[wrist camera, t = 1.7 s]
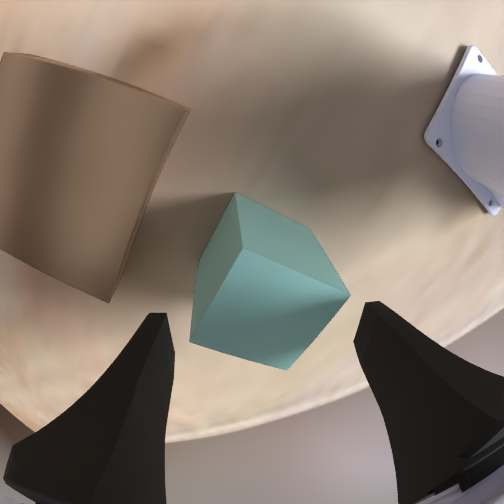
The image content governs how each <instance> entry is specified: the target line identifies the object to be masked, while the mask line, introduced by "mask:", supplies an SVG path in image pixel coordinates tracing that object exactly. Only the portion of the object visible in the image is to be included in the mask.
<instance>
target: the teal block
mask: <svg viewBox="0 0 504 504" xmlns="http://www.w3.org/2000/svg"><path fill="white" fill-rule="evenodd" d="M350 296H351V294H350V293H349V291H348V289H347V287H346V286H345V284H344V282H343V281H342V279H341V277H340V276H339V274H338V272H337V271H336V269H335V268H334V266H333V264H332V263H331V261H330V259H329V258H328V256H327V255H326V253H325V251H324V250H323V248H322V247H321V245H320V243H319V242H318V240H317V239H316V237H315V235H314V234H313V232H312V231H311V229H309V228H307V227H305V226H303V225H301V224H299V223H297V222H295V221H293V220H291V219H289V218H287V217H285V216H283V215H281V214H279V213H277V212H275V211H273V210H271V209H269V208H267V207H265V206H263V205H261V204H259V203H257V202H255V201H253V200H251V199H249V198H247V197H245V196H242V195H240V194H238V193H236V192H235V194H234V195H233V197H232V199H231V201H230V203H229V205H228V207H227V209H226V210H225V212H224V214H223V216H222V218H221V220H220V222H219V224H218V226H217V228H216V229H215V231H214V233H213V235H212V237H211V239H210V241H209V243H208V245H207V247H206V249H205V251H204V253H203V255H202V257H201V259H200V261H199V263H198V267H197V276H196V284H195V292H194V301H193V311H192V320H191V330H190V341H189V342H191V343H194V344H197V345H200V346H203V347H206V348H209V349H212V350H216V351H219V352H222V353H225V354H229V355H232V356H236V357H239V358H242V359H246V360H250V361H253V362H257V363H261V364H264V365H268V366H272V367H276V368H280V369H284V370H288V369H289V368H290V367H291V366H292V364H293V363H294V362H295V361H296V360H297V359H298V358H299V357H300V356H301V354H302V353H303V352H304V351H305V350H306V349H307V348H308V346H309V345H310V344H311V343H312V342H313V341H314V340H315V338H316V337H317V336H318V335H319V334H320V333H321V331H322V330H323V329H324V328H325V327H326V325H327V324H328V323H329V322H330V321H331V319H332V318H333V317H334V316H335V314H336V313H337V312H338V311H339V309H340V308H341V307H342V306H343V304H344V303H345V302H346V301H347V299H348V298H349V297H350Z"/></svg>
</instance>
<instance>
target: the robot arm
mask: <svg viewBox="0 0 504 504" xmlns="http://www.w3.org/2000/svg"><path fill="white" fill-rule="evenodd" d="M477 57H478V58H477ZM424 139H425V142H426V143H427V144H428V145H429V146H430V147H431V148H432V149H433V150H434V151H435V152H436V153H437V154H438V155H439V156H440V157H441V158H442V159H443V160H444V161H445V162H446V163H447V164H448V165H449V166H450V167H451V169H452V170H453V171H454V172H455V173H456V174H457V175H458V176H459V177H460V178H461V180H462V181H463V182H464V183H465V184H466V185H467V186H468V188H469V189H470V190H471V191H472V192H473V193H474V195H475V196H476V197H477V198H478V199H479V201H480V202H481V203H482V204H483V206H484V207H485V208H486V209H487V211H488V212H489V213H490V214H491V215H493V216H495V215H497V213H498V212H499V210H500V208H501V207H503V208H504V76H500V75H497V74H496V72H495V71H494V70H493V68H492V67H491V66H490V64H489V63H488V62H487V60H486V59H485V58H484V56H483V55H482V54H481V52H480V51H479V50H478V49H477V48H476V47H475V46H468V47H467V49H466V51H465V53H464V56H463V58H462V60H461V62H460V64H459V67H458V69H457V71H456V73H455V75H454V77H453V79H452V81H451V83H450V85H449V87H448V89H447V91H446V93H445V95H444V97H443V99H442V101H441V103H440V105H439V107H438V109H437V111H436V113H435V114H434V116H433V118H432V120H431V122H430V124H429V126H428V127H427V129H426V131H425V134H424ZM437 139H438V145H436V141H437ZM353 342H354V345H355V349H356V352H357V356H358V359H359V362H360V365H361V367H362V369H363V372H364V374H365V376H366V378H367V381H368V383H369V385H370V387H371V389H372V392H373V394H374V396H375V398H376V401H377V403H378V405H379V407H380V410H381V413H382V415H383V418H384V422H385V425H386V429H387V432H388V436H389V440H390V445H391V449H392V453H393V459H394V465H395V471H396V479H397V490H398V503H399V504H418V503H419V504H504V377H503V376H500V375H497V374H494V373H492V372H489V371H487V370H484V369H482V368H480V367H478V366H476V365H474V364H471V363H469V362H468V361H465V360H464V359H462V358H460V357H458V356H457V355H455V354H453V353H451V352H450V351H448V350H447V349H445V348H443V347H442V346H440V345H439V344H438V343H436V342H435V341H433V340H432V339H430V338H429V337H427V336H426V335H425V334H423V333H422V332H421V331H419V330H418V329H416V328H415V327H414V326H412V325H411V324H410V323H409V322H407V321H406V320H405V319H403V318H402V317H401V316H399V315H398V314H397V313H395V312H394V311H393V310H391V309H390V308H389V307H387V306H386V305H384V304H383V303H381V302H380V301H375V302H365V306H364V309H363V312H362V316H361V319H360V322H359V326H358V329H357V332H356V335H355V338H354V341H353ZM174 363H175V351H174V347H173V342H172V337H171V333H170V328H169V323H168V318H167V313H149V314H148V315H147V316H146V318H145V319H144V321H143V322H142V324H141V325H140V327H139V328H138V330H137V331H136V332H135V334H134V335H133V337H132V338H131V339H130V341H129V342H128V343H127V345H126V346H125V347H124V349H123V350H122V351H121V353H120V354H119V355H118V357H117V358H116V359H115V360H114V362H113V363H112V364H111V365H110V366H109V368H108V369H107V370H106V371H105V372H104V374H103V375H102V376H101V377H100V378H99V379H98V380H97V381H96V382H95V384H94V385H93V386H92V387H91V388H90V389H89V390H88V391H87V392H86V393H85V394H84V395H83V396H82V397H80V398H79V399H78V400H77V401H76V402H75V403H74V404H73V405H72V406H70V407H69V408H68V409H67V410H66V411H65V412H63V413H62V414H61V415H60V416H58V417H57V418H56V419H54V420H53V421H51V422H50V423H49V424H47V425H46V426H45V427H43V428H42V429H40V430H39V431H37V432H35V433H34V434H32V435H30V436H28V437H27V438H25V439H23V440H22V441H20V442H18V443H16V444H14V445H13V446H12V449H11V452H10V456H9V459H8V462H7V466H6V469H5V474H4V477H3V479H4V481H5V483H6V484H7V485H9V486H10V487H11V488H13V489H14V490H16V491H18V492H19V493H21V494H23V495H24V496H26V497H27V498H29V499H31V500H33V501H34V502H36V504H166V492H165V433H166V425H167V418H168V411H169V405H170V399H171V392H172V386H173V380H174ZM434 495H435V496H434ZM432 496H433V497H432ZM430 497H431V498H430ZM428 498H429V499H428ZM426 499H427V500H426ZM424 500H425V501H424ZM422 501H423V502H422ZM420 502H421V503H420ZM0 504H24V503H22V502H19V501H17V500H15V499H13V498H11V497H9V496H7V495H5V494H3V493H1V494H0Z"/></svg>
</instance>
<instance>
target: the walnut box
mask: <svg viewBox="0 0 504 504" xmlns="http://www.w3.org/2000/svg"><path fill="white" fill-rule="evenodd" d="M190 110H191V109H189V108H187V107H185V106H182V105H180V104H178V103H175V102H173V101H170V100H168V99H166V98H163V97H161V96H158V95H156V94H153V93H151V92H148V91H146V90H143V89H140V88H138V87H135V86H132V85H130V84H127V83H124V82H121V81H119V80H116V79H113V78H110V77H107V76H104V75H101V74H98V73H95V72H92V71H89V70H86V69H82V68H79V67H76V66H72V65H69V64H66V63H62V62H58V61H55V60H51V59H47V58H43V57H39V56H35V55H30V54H21V53H9V52H4V53H3V56H2V58H1V61H0V249H1V250H3V251H5V252H7V253H8V254H10V255H12V256H14V257H15V258H17V259H19V260H21V261H23V262H25V263H26V264H28V265H30V266H32V267H34V268H36V269H38V270H40V271H42V272H44V273H46V274H48V275H50V276H52V277H54V278H56V279H58V280H60V281H62V282H64V283H66V284H68V285H70V286H72V287H74V288H76V289H78V290H81V291H83V292H85V293H87V294H89V295H92V296H94V297H96V298H98V299H101V300H103V301H105V302H107V303H109V302H110V300H111V298H112V296H113V294H114V291H115V289H116V287H117V285H118V283H119V281H120V279H121V277H122V274H123V271H124V268H125V265H126V262H127V259H128V256H129V253H130V250H131V247H132V244H133V241H134V238H135V236H136V233H137V230H138V228H139V225H140V222H141V220H142V217H143V214H144V212H145V209H146V207H147V204H148V202H149V199H150V197H151V194H152V192H153V189H154V187H155V185H156V182H157V180H158V178H159V175H160V173H161V171H162V168H163V166H164V164H165V162H166V159H167V157H168V155H169V153H170V151H171V149H172V146H173V144H174V142H175V140H176V138H177V136H178V134H179V132H180V130H181V128H182V126H183V124H184V122H185V120H186V118H187V116H188V114H189V112H190Z"/></svg>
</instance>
